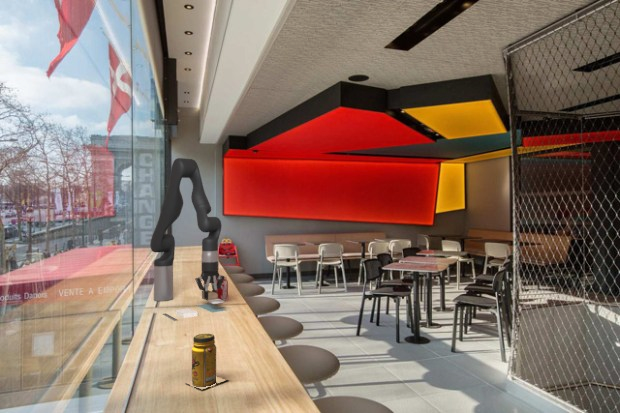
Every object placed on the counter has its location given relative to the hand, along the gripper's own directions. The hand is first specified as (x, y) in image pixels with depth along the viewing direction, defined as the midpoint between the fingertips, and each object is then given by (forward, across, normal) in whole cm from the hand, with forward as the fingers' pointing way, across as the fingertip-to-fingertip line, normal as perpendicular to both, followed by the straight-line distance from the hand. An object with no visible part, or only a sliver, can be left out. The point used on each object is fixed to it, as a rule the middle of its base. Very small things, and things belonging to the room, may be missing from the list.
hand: (210, 298), depth 191 cm
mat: (+5, +14, +5) cm, 16 cm away
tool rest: (+5, 0, +1) cm, 5 cm away
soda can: (+5, -11, -12) cm, 17 cm away
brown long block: (+1, 0, +2) cm, 2 cm away
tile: (+3, +14, +3) cm, 15 cm away
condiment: (+6, +36, +78) cm, 86 cm away
